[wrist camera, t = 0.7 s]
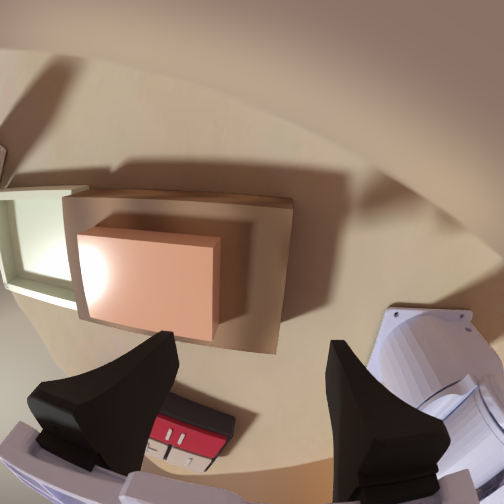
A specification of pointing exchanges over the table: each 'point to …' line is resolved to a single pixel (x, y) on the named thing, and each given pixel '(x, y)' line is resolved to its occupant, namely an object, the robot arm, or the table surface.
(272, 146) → the table surface
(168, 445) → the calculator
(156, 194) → the brown wooden block
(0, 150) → the skincare box
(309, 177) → the table surface
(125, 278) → the tile
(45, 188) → the tray
